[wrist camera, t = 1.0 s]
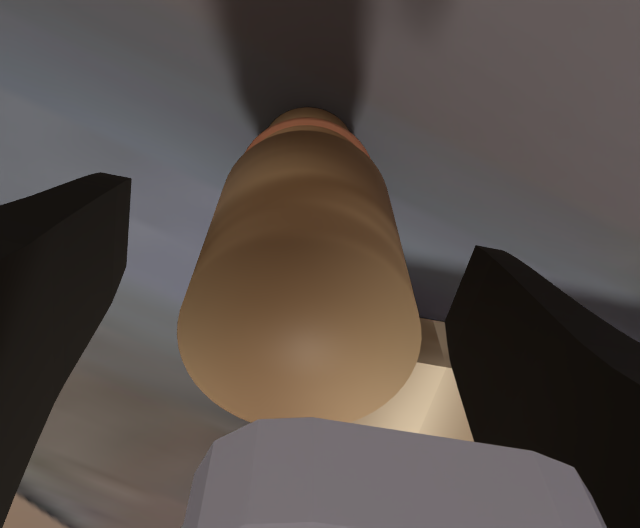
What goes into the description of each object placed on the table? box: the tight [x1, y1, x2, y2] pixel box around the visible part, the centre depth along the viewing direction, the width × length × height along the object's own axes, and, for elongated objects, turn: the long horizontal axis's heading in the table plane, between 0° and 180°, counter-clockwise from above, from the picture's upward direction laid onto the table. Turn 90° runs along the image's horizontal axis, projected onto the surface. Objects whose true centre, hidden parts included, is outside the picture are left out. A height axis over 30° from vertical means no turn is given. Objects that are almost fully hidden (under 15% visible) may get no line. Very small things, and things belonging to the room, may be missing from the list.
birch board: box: [351, 318, 474, 442], centre depth 23 cm, size 14×14×2 cm
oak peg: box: [177, 107, 422, 423], centre depth 14 cm, size 4×4×9 cm
